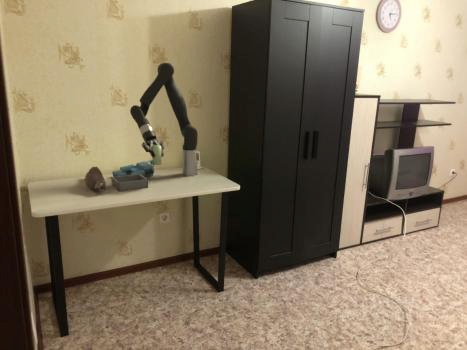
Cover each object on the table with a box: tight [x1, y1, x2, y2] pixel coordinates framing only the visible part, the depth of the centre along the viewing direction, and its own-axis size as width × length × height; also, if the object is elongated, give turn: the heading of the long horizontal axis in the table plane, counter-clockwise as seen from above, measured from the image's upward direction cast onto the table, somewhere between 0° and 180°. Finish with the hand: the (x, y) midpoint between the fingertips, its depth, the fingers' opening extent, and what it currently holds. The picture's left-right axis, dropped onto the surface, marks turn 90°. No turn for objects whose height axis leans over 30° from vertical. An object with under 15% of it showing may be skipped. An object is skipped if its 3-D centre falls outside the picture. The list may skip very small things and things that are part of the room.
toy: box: [111, 159, 155, 179], centre depth 245 cm, size 22×9×30 cm
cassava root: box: [84, 166, 107, 191], centre depth 220 cm, size 41×11×10 cm
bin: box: [111, 174, 149, 192], centre depth 222 cm, size 17×14×5 cm
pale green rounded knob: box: [151, 145, 162, 166], centre depth 221 cm, size 5×5×11 cm
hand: (158, 156), depth 220 cm, fingers closed on pale green rounded knob, 5 cm apart
